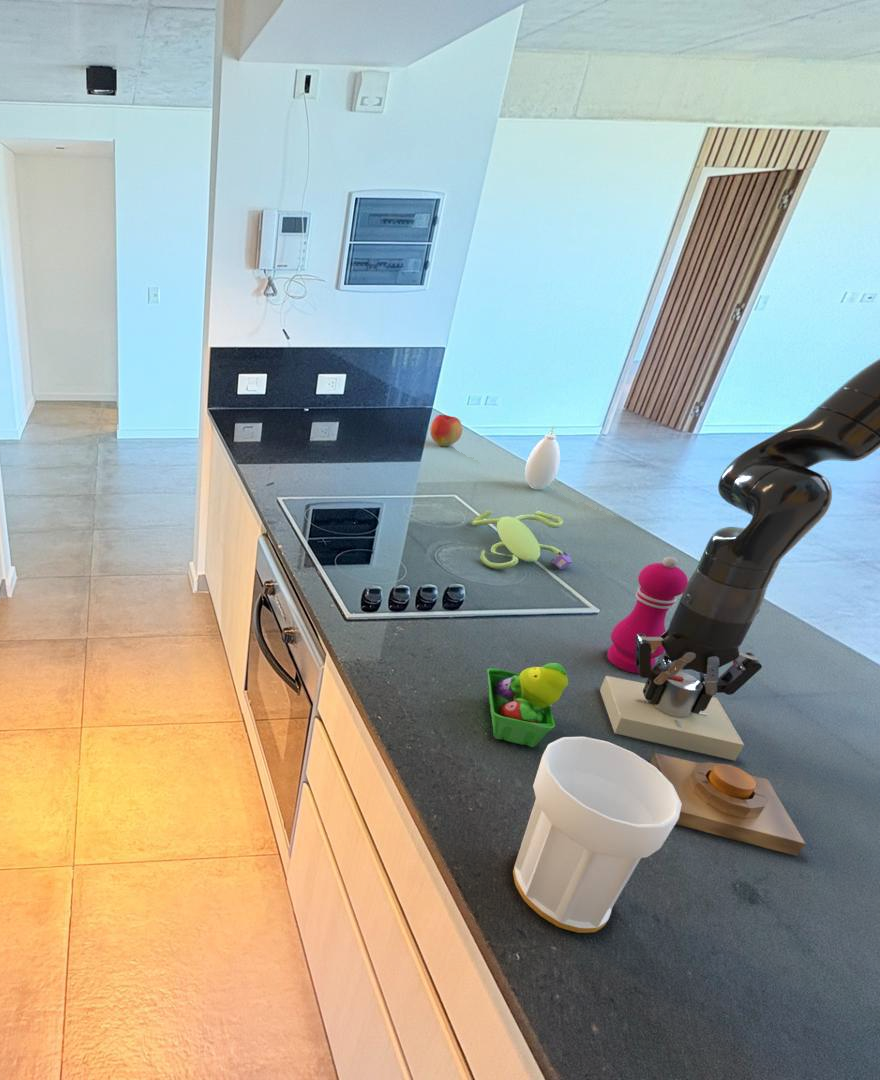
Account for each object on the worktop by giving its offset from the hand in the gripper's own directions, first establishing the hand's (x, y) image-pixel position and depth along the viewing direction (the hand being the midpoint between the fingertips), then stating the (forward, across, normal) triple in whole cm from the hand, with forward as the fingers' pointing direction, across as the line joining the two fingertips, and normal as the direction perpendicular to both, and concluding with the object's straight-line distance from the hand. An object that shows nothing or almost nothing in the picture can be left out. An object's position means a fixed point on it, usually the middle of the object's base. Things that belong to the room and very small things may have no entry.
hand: (671, 704), depth 89 cm
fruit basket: (+4, +20, +8) cm, 22 cm away
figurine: (+4, +14, -55) cm, 57 cm away
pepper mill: (+4, +1, -15) cm, 15 cm away
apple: (+4, +30, -129) cm, 133 cm away
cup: (+4, +18, +35) cm, 40 cm away
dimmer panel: (+4, 0, 0) cm, 4 cm away
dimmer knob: (0, 0, 0) cm, 0 cm away
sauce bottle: (+4, +6, -96) cm, 97 cm away
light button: (0, -2, +15) cm, 15 cm away
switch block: (+4, -2, +15) cm, 16 cm away
